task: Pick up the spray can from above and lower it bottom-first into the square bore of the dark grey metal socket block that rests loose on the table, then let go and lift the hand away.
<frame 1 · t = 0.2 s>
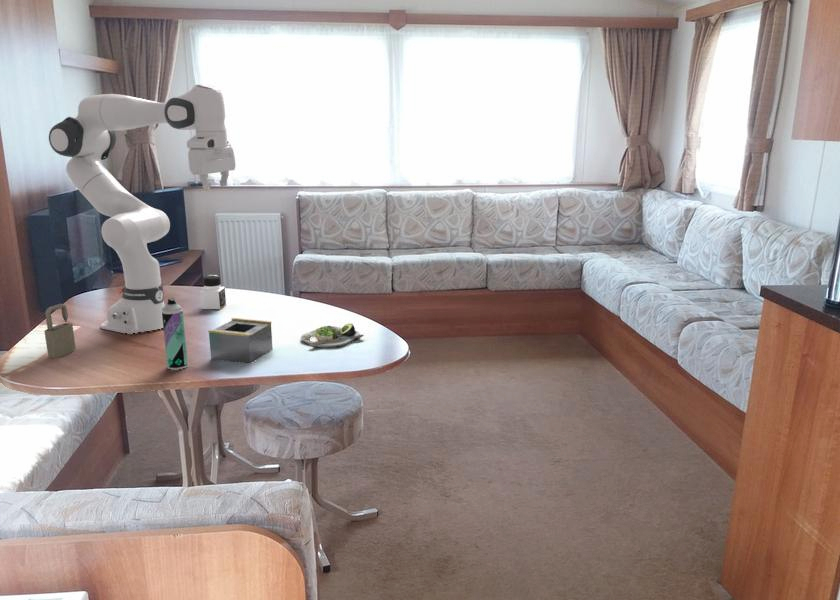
hand: (215, 187, 204), 48 cm above the table, tool pointing down, fingers open, 8 cm apart
padlock: (62, 354, 200), on the table
salad plate: (332, 340, 214), on the table
socket block: (242, 354, 200), on the table
medicine bottle: (214, 307, 249), on the table
spray can: (177, 367, 189), on the table
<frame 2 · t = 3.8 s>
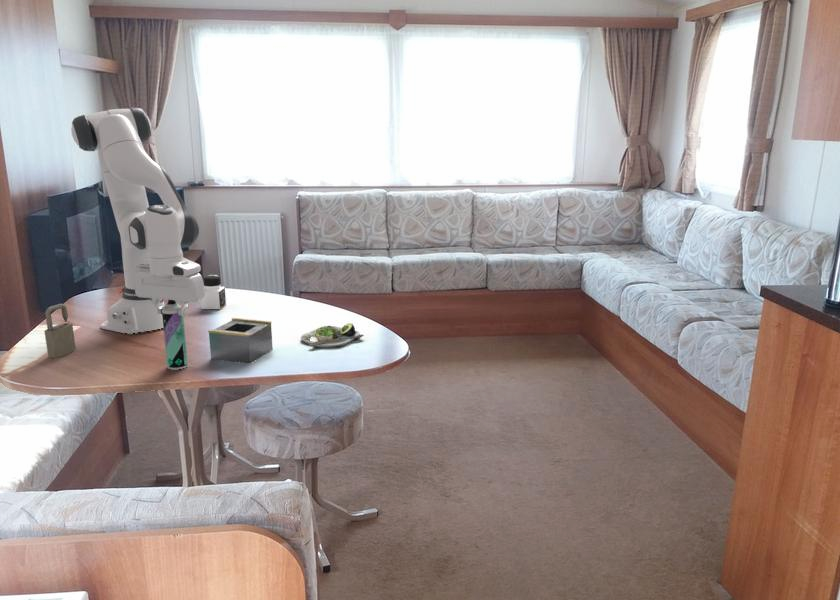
hand: (171, 314, 185), 16 cm above the table, tool pointing down, fingers closed on spray can, 5 cm apart
spray can: (178, 367, 189), on the table, touching gripper
everything else where it was.
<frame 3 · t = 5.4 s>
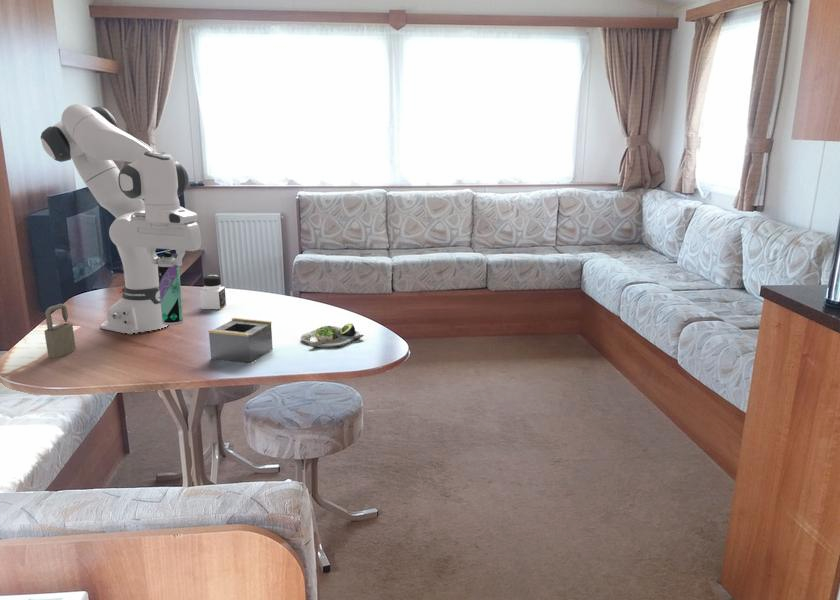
hand: (167, 264, 181), 30 cm above the table, tool pointing down, fingers closed on spray can, 5 cm apart
spray can: (172, 323, 186), point 13 cm above the table, touching gripper
everything else where it was.
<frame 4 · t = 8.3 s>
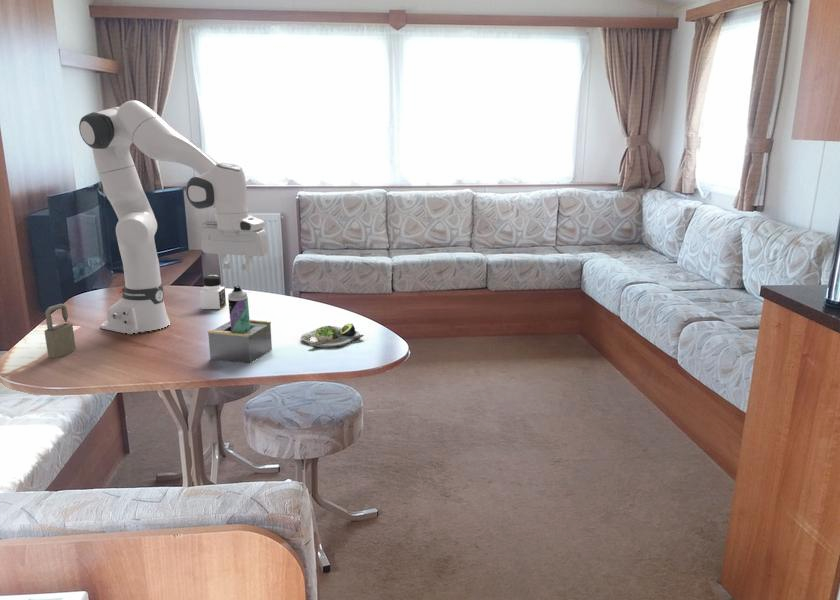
hand: (236, 269, 193), 26 cm above the table, tool pointing down, fingers open, 5 cm apart
socket block: (241, 355, 200), on the table, touching spray can
spray can: (242, 350, 199), point 1 cm above the table, touching socket block
everything else where it was.
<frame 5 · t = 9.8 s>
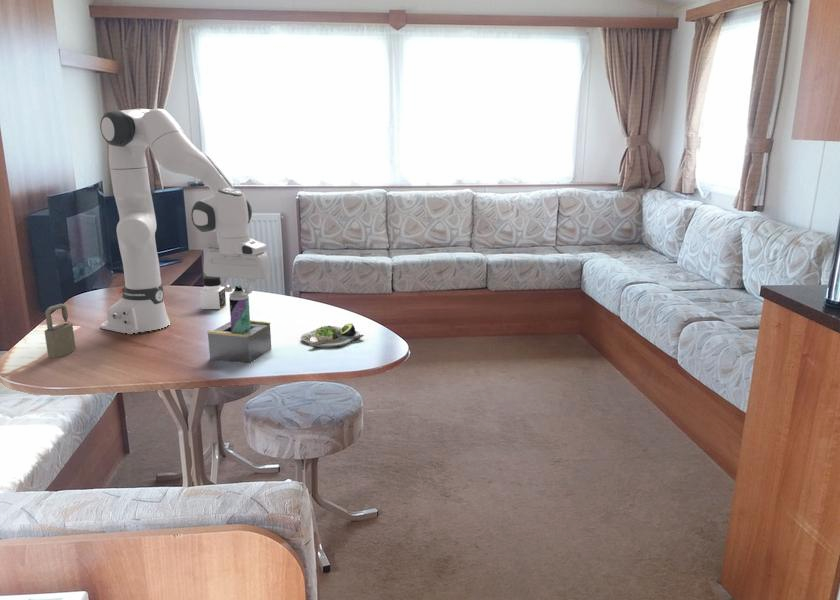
hand: (238, 292, 194), 19 cm above the table, tool pointing down, fingers closed on spray can, 5 cm apart
spray can: (242, 351, 199), point 1 cm above the table, touching gripper, socket block
everything else where it was.
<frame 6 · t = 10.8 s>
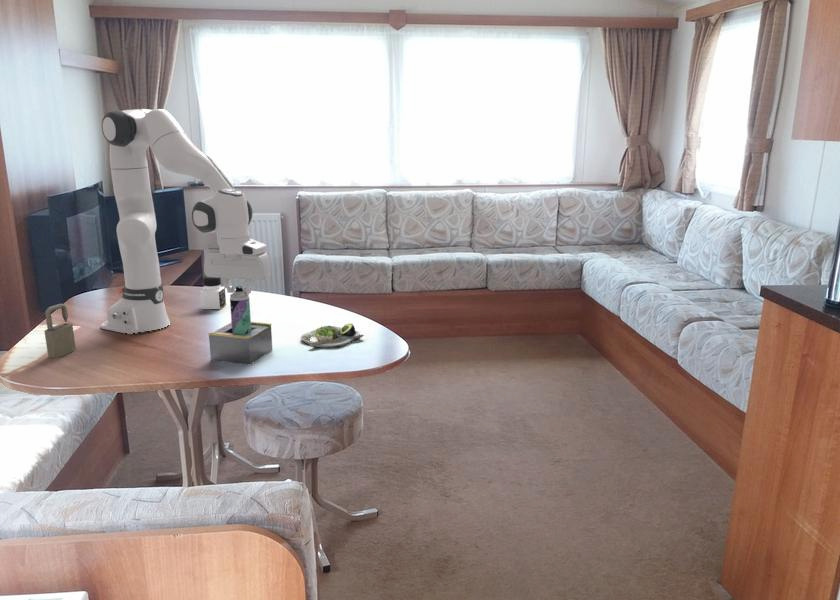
hand: (239, 292, 194), 19 cm above the table, tool pointing down, fingers closed on spray can, 4 cm apart
spray can: (243, 352, 198), point 1 cm above the table, touching gripper, socket block
everything else where it was.
when the fingers open (19 cm above the table, at t = 10.9 s): spray can stays where it is, resting on socket block.
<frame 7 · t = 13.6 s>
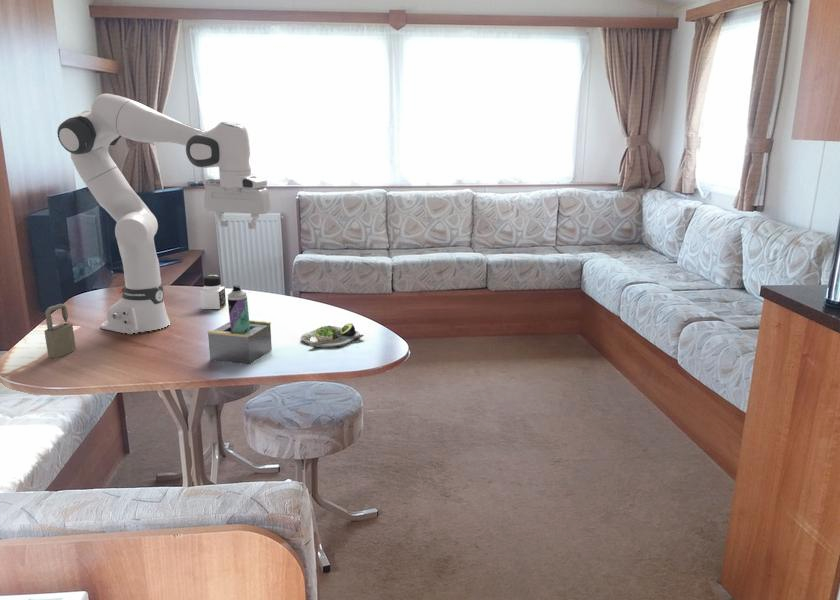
hand: (238, 227, 197), 37 cm above the table, tool pointing down, fingers open, 8 cm apart
spray can: (242, 351, 198), point 1 cm above the table, touching socket block
everything else where it was.
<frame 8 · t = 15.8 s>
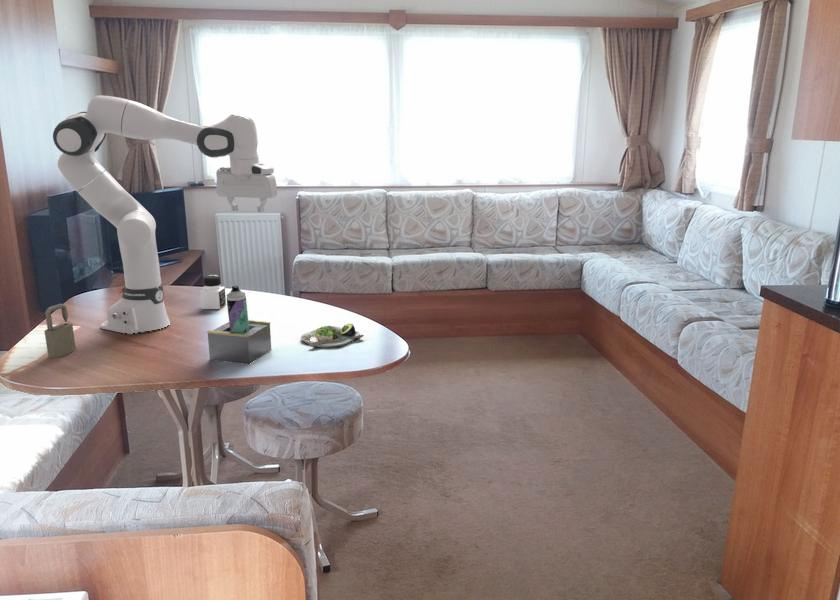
hand: (247, 211, 215), 39 cm above the table, tool pointing down, fingers open, 8 cm apart
nothing on the table moved.
at the end: spray can 0.5 cm off-centre on the socket block, point 1.3 cm above the socket block's base; spray can tilted 1°; the gripper is holding nothing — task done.
